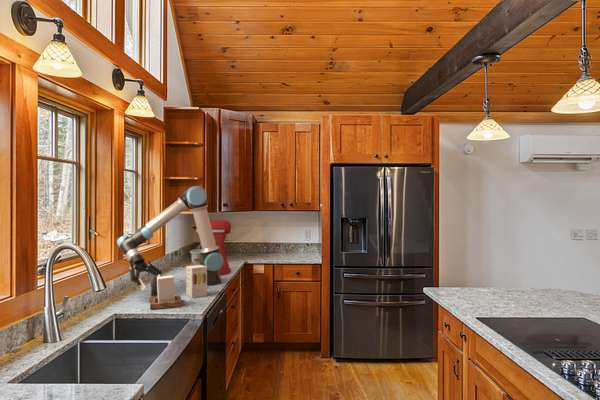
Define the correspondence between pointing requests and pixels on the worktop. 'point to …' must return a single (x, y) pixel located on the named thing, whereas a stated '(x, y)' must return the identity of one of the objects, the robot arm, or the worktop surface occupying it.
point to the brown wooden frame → (154, 297)
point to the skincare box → (165, 289)
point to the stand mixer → (219, 233)
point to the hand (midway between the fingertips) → (154, 286)
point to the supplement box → (196, 281)
